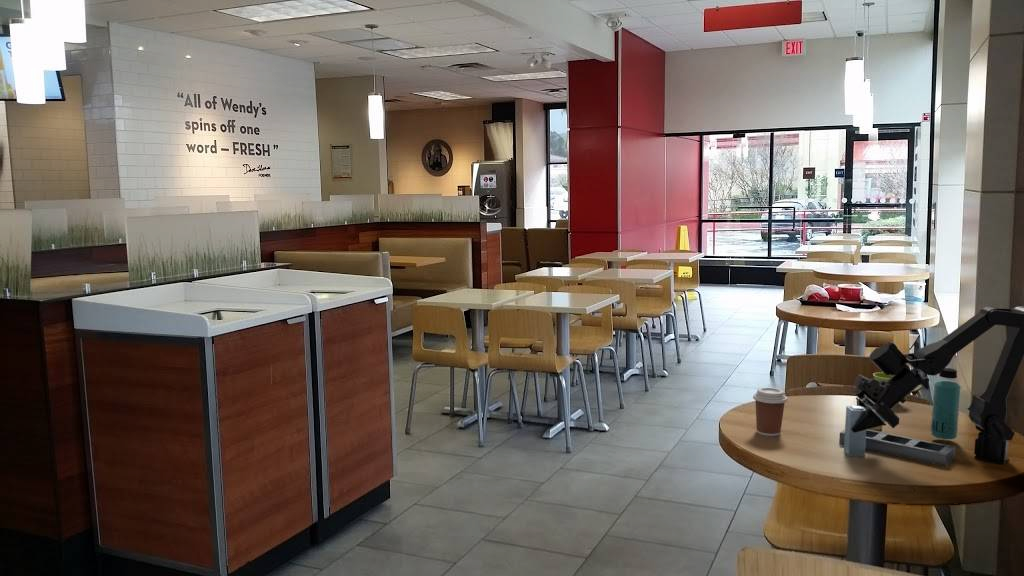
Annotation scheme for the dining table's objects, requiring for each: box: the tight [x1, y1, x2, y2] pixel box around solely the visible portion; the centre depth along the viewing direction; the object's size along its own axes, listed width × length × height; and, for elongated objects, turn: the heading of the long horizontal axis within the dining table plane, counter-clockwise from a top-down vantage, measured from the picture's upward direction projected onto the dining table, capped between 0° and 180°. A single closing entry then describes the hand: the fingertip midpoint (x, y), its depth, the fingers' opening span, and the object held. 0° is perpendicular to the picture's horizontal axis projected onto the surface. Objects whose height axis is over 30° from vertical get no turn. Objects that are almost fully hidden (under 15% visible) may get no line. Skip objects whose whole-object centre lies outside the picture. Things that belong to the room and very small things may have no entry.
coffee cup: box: [752, 386, 788, 437], centre depth 226 cm, size 9×9×12 cm
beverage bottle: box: [929, 367, 962, 440], centre depth 219 cm, size 6×7×20 cm
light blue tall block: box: [843, 405, 866, 457], centre depth 209 cm, size 4×4×12 cm
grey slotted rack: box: [838, 429, 956, 467], centre depth 212 cm, size 26×8×3 cm, turn 48°
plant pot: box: [872, 371, 893, 382], centre depth 259 cm, size 9×9×9 cm
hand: (850, 428), depth 209 cm, fingers closed on light blue tall block, 4 cm apart
